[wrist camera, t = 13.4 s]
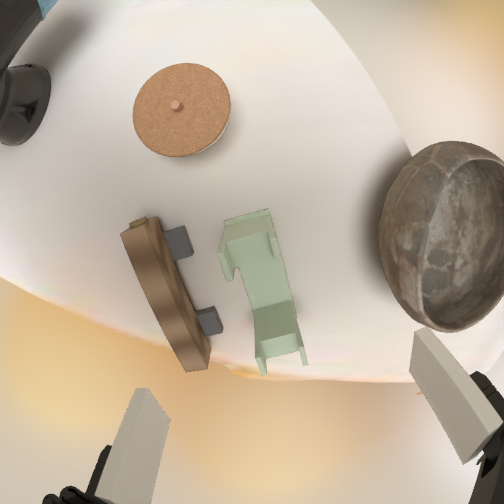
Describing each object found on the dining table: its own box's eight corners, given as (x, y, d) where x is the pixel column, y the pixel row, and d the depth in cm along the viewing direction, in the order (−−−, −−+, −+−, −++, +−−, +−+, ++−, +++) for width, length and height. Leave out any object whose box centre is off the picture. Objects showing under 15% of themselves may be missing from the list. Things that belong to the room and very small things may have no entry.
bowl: (346, 297, 40) (385, 358, 26) (353, 133, 32) (413, 122, 18) (457, 283, 40) (505, 322, 26) (472, 153, 32) (535, 161, 18)
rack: (224, 220, 36) (213, 248, 25) (268, 208, 36) (276, 230, 24) (258, 324, 41) (261, 378, 30) (296, 315, 41) (310, 367, 30)
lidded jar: (146, 148, 33) (114, 146, 24) (168, 76, 30) (144, 53, 21) (221, 166, 34) (210, 167, 25) (244, 90, 31) (242, 67, 22)
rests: (129, 243, 37) (125, 246, 36) (184, 225, 36) (181, 228, 35) (172, 337, 42) (170, 343, 41) (223, 327, 42) (222, 332, 40)
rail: (133, 220, 34) (118, 229, 30) (155, 212, 34) (141, 220, 29) (192, 354, 42) (187, 375, 37) (212, 351, 41) (208, 371, 37)
